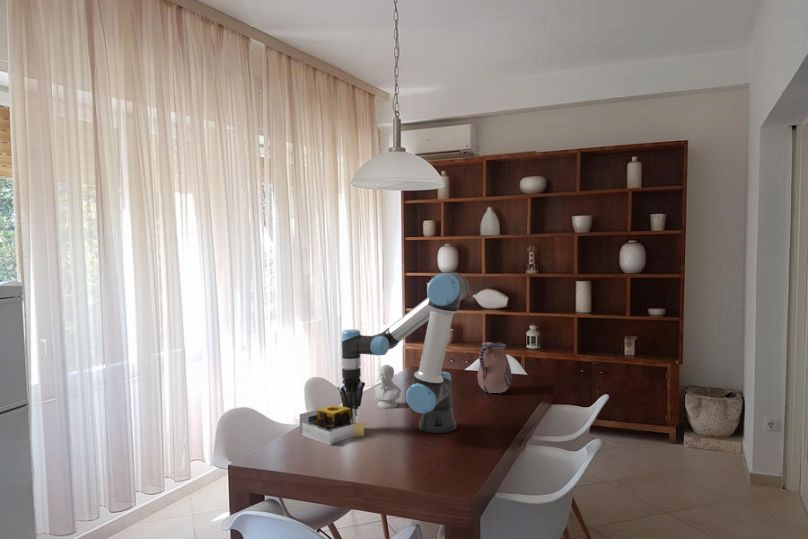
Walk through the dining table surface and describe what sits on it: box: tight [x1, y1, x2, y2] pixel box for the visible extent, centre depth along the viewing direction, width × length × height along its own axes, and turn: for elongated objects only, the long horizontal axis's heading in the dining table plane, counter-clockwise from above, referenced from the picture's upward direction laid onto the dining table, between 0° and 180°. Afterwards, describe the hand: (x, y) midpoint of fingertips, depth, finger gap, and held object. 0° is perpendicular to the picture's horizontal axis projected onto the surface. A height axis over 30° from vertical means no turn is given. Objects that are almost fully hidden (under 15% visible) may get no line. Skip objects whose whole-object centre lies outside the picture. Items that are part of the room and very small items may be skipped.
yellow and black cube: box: [316, 404, 351, 430], centre depth 223 cm, size 10×10×10 cm
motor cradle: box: [299, 409, 365, 446], centre depth 222 cm, size 24×16×7 cm
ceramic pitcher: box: [476, 341, 513, 394], centre depth 285 cm, size 18×21×25 cm
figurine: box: [374, 364, 402, 409], centre depth 263 cm, size 9×13×20 cm
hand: (352, 424), depth 229 cm, fingers closed
